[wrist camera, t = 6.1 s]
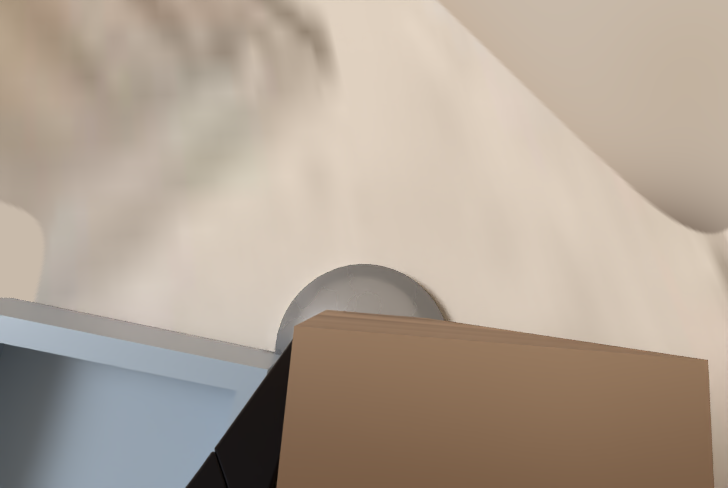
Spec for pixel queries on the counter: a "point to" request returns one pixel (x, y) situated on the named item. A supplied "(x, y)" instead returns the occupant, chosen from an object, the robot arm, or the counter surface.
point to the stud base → (357, 297)
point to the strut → (486, 409)
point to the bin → (113, 399)
